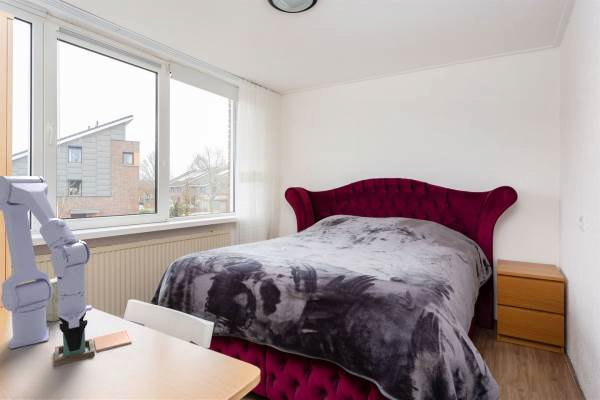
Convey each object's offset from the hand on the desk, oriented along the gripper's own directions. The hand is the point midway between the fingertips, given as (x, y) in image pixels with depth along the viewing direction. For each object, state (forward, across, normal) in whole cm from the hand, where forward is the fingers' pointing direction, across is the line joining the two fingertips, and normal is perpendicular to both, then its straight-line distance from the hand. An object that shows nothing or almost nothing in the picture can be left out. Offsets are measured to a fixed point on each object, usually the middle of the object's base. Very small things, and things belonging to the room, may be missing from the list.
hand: (74, 346), depth 85 cm
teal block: (+2, 0, 0) cm, 2 cm away
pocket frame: (+2, 0, 0) cm, 2 cm away
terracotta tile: (+2, +2, -8) cm, 9 cm away
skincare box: (+2, +30, +4) cm, 30 cm away
